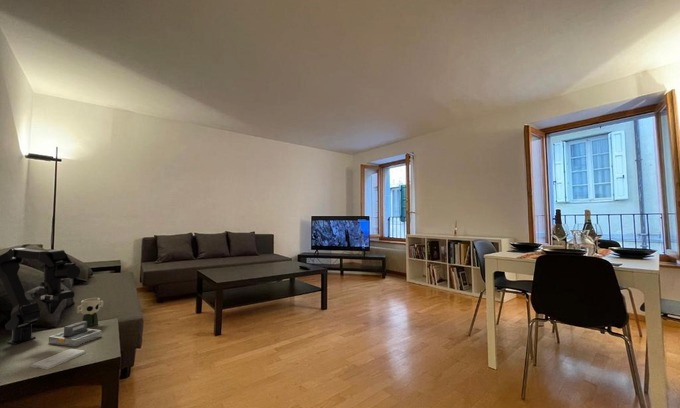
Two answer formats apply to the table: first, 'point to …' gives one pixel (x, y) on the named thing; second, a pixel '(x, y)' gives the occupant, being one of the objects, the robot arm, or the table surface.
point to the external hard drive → (58, 359)
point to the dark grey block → (75, 329)
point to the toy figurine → (90, 310)
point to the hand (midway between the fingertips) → (51, 314)
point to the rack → (75, 338)
